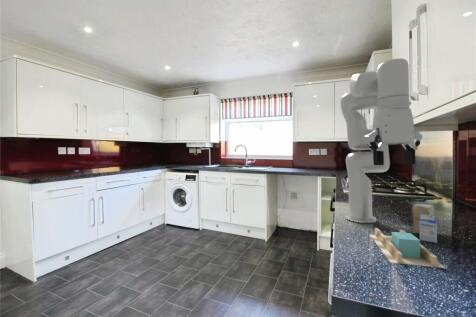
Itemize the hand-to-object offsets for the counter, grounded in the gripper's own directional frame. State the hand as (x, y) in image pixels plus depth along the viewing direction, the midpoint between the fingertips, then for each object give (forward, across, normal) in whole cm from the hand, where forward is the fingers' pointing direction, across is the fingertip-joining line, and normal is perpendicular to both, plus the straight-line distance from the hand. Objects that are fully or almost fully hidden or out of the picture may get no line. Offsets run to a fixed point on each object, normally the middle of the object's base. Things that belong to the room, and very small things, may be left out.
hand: (394, 164), depth 64 cm
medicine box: (+28, -21, -10) cm, 36 cm away
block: (+26, -4, -1) cm, 26 cm away
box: (+28, -26, -16) cm, 41 cm away
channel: (+28, -5, -4) cm, 28 cm away
